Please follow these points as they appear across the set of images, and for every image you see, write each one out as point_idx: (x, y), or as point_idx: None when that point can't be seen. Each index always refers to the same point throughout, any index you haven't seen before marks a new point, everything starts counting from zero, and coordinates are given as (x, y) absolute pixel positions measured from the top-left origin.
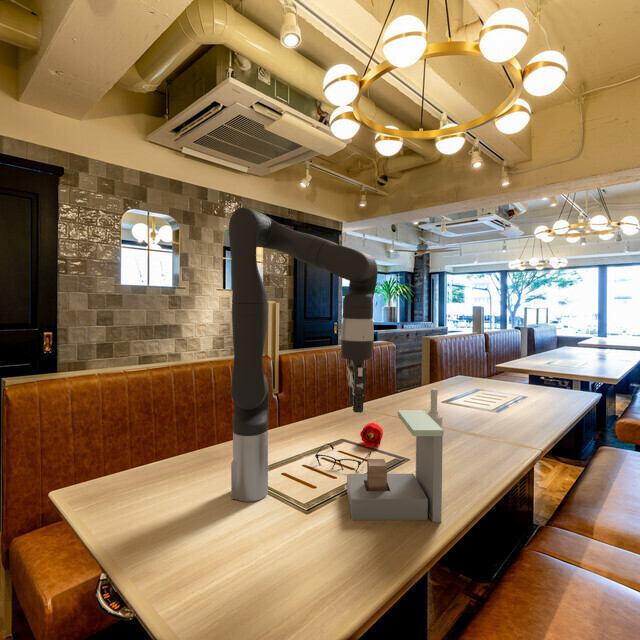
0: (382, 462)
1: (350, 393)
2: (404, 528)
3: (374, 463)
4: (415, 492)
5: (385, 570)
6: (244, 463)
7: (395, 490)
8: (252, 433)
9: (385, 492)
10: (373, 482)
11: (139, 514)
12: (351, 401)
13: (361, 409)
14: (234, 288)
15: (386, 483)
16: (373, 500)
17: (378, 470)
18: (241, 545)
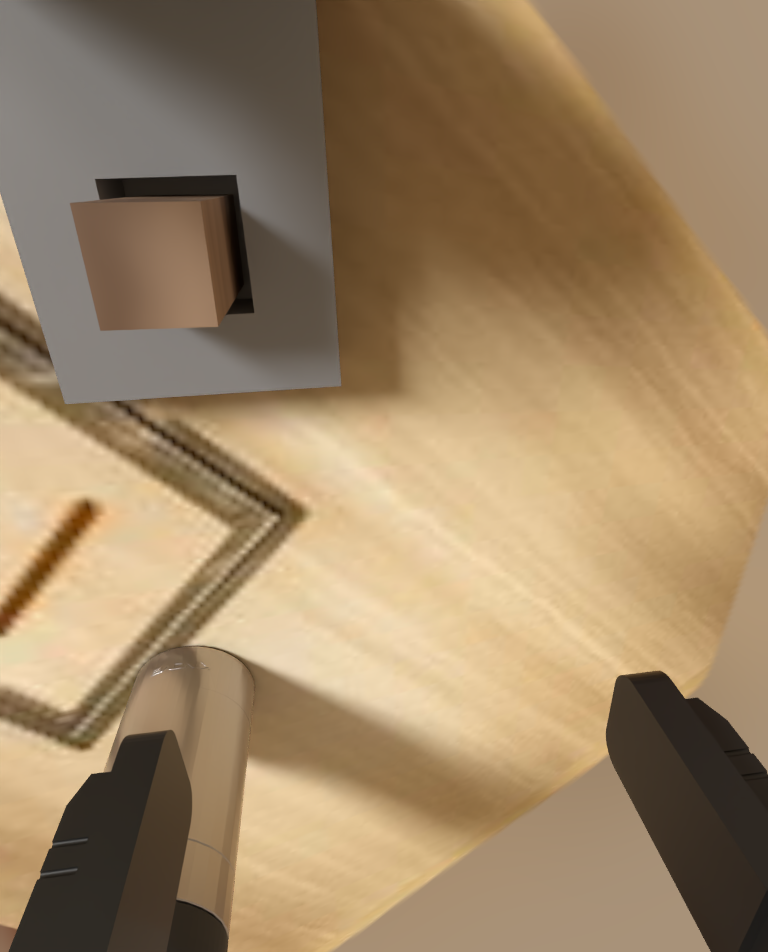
0: (142, 227)
1: (162, 943)
2: (390, 132)
3: (171, 288)
4: (233, 3)
5: (628, 260)
6: (241, 810)
7: (225, 142)
8: (218, 933)
9: (256, 209)
10: (227, 280)
11: (342, 850)
12: (183, 802)
13: (708, 710)
14: None
15: (217, 199)
16: (333, 283)
17: (214, 260)
18: (473, 640)
